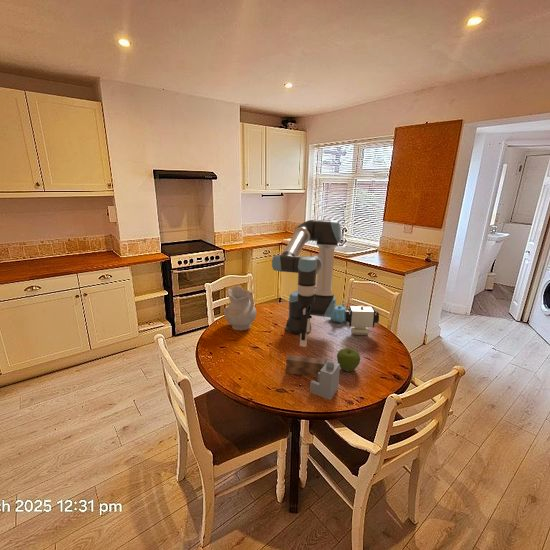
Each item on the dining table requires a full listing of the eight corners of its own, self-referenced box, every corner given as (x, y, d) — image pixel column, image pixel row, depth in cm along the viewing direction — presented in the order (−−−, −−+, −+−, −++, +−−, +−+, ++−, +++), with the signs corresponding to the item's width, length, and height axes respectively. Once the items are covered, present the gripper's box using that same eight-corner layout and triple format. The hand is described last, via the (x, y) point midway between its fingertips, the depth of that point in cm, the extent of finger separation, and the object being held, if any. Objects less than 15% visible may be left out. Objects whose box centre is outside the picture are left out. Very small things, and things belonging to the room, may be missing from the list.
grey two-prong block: (310, 392, 124) (311, 362, 120) (318, 381, 131) (320, 352, 127) (330, 400, 119) (332, 369, 115) (338, 388, 126) (340, 358, 122)
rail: (286, 372, 137) (286, 359, 135) (287, 367, 141) (287, 354, 139) (325, 378, 133) (326, 364, 131) (326, 372, 137) (327, 359, 135)
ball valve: (373, 331, 176) (376, 303, 171) (377, 338, 168) (380, 309, 162) (342, 330, 177) (344, 302, 172) (344, 336, 169) (346, 308, 164)
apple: (334, 362, 145) (335, 344, 142) (356, 362, 145) (357, 344, 142) (338, 375, 135) (339, 356, 132) (361, 376, 134) (363, 356, 131)
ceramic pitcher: (265, 327, 184) (266, 288, 178) (246, 337, 168) (246, 295, 162) (238, 319, 195) (238, 282, 189) (217, 328, 179) (217, 288, 173)
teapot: (352, 324, 185) (353, 309, 182) (332, 326, 183) (333, 310, 180) (343, 315, 197) (344, 301, 194) (324, 317, 195) (325, 302, 192)
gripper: (312, 304, 114) (310, 354, 120) (317, 285, 138) (315, 326, 144) (293, 303, 116) (292, 351, 122) (301, 284, 139) (300, 325, 145)
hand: (305, 338), depth 133 cm, fingers open, 13 cm apart
